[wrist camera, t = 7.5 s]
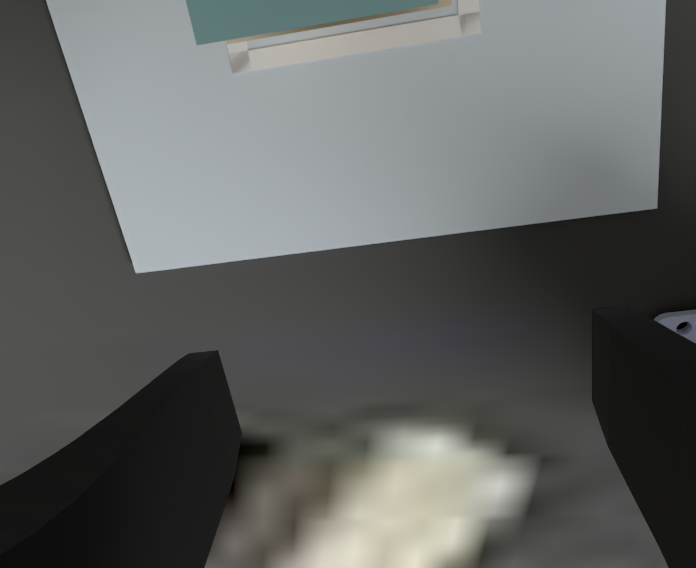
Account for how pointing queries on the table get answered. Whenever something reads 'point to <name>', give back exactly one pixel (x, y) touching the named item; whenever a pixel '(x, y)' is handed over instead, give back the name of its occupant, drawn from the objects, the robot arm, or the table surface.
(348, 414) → the table surface
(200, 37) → the teal block
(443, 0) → the base block
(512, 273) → the table surface
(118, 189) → the board
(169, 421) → the robot arm
